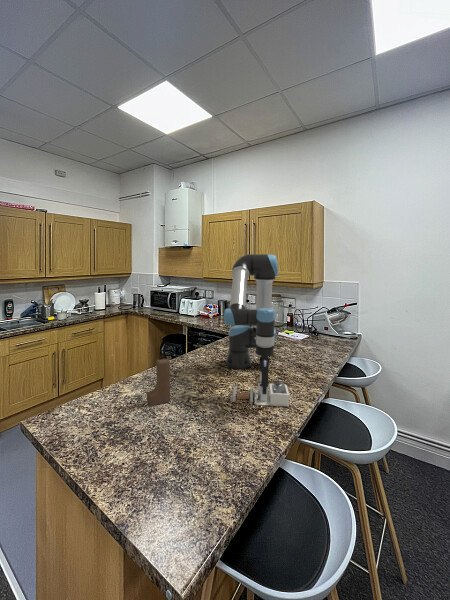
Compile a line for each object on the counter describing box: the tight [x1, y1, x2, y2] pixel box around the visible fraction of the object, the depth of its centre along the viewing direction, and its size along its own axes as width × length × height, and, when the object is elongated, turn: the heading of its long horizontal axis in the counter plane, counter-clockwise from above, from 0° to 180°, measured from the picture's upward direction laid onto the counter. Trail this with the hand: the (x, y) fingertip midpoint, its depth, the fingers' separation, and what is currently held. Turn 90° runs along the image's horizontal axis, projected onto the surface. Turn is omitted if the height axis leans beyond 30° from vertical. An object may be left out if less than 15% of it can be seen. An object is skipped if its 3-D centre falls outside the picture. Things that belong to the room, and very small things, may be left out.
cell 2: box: [273, 380, 285, 394], centre depth 120 cm, size 4×4×8 cm
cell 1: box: [257, 380, 268, 402], centre depth 121 cm, size 4×4×8 cm
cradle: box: [232, 386, 254, 403], centre depth 123 cm, size 9×9×4 cm
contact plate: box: [236, 391, 250, 400], centre depth 123 cm, size 3×5×2 cm, turn 85°
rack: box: [253, 383, 290, 407], centre depth 121 cm, size 10×14×6 cm
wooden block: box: [146, 358, 171, 407], centre depth 120 cm, size 9×4×18 cm, turn 121°
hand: (263, 393), depth 121 cm, fingers open, 13 cm apart
